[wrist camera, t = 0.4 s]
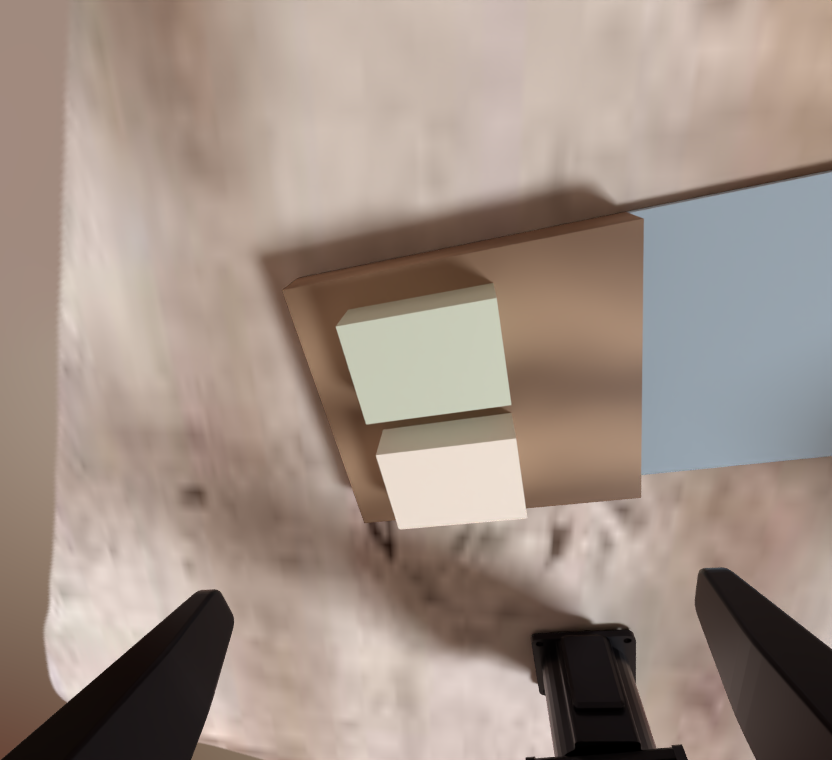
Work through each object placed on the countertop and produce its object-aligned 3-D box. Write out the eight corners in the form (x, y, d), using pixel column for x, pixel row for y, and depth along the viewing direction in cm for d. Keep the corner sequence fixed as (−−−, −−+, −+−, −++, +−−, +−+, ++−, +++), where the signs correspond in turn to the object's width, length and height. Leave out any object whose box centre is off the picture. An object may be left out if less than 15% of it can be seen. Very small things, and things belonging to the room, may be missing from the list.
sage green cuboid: (507, 381, 19) (511, 404, 17) (374, 400, 20) (366, 424, 19) (493, 282, 17) (496, 297, 16) (347, 309, 18) (335, 326, 17)
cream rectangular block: (522, 488, 22) (527, 518, 20) (403, 500, 23) (398, 529, 21) (511, 412, 20) (516, 438, 18) (383, 429, 21) (375, 455, 19)
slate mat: (946, 438, 21) (955, 443, 20) (627, 471, 23) (629, 476, 23) (1063, 122, 15) (1078, 122, 15) (625, 211, 18) (629, 213, 17)
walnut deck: (627, 471, 23) (640, 497, 21) (371, 497, 26) (364, 523, 24) (625, 211, 18) (643, 218, 16) (297, 278, 20) (282, 290, 18)
